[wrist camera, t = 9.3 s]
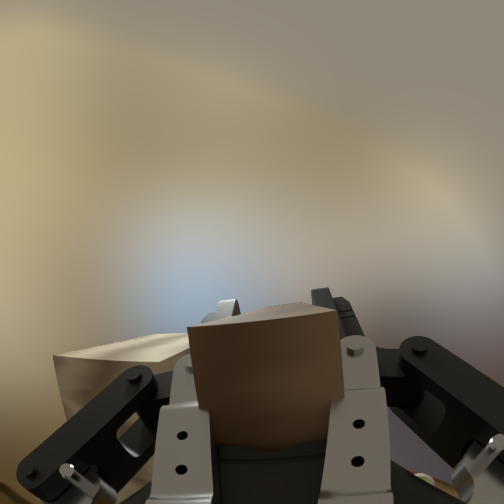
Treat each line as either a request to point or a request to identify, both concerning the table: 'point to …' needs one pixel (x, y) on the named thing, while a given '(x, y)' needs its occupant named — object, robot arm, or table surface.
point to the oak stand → (107, 370)
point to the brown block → (269, 374)
